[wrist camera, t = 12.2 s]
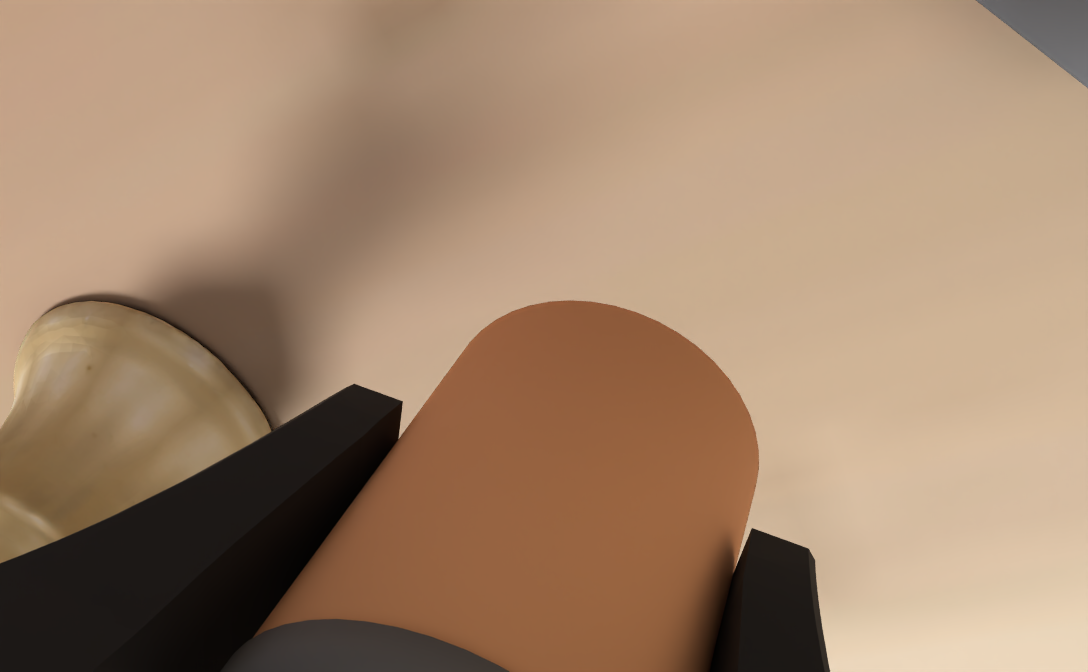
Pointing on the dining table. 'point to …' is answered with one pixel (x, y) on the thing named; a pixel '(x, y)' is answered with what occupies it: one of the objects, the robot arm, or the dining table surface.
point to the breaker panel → (1050, 29)
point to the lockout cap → (537, 514)
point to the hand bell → (110, 420)
